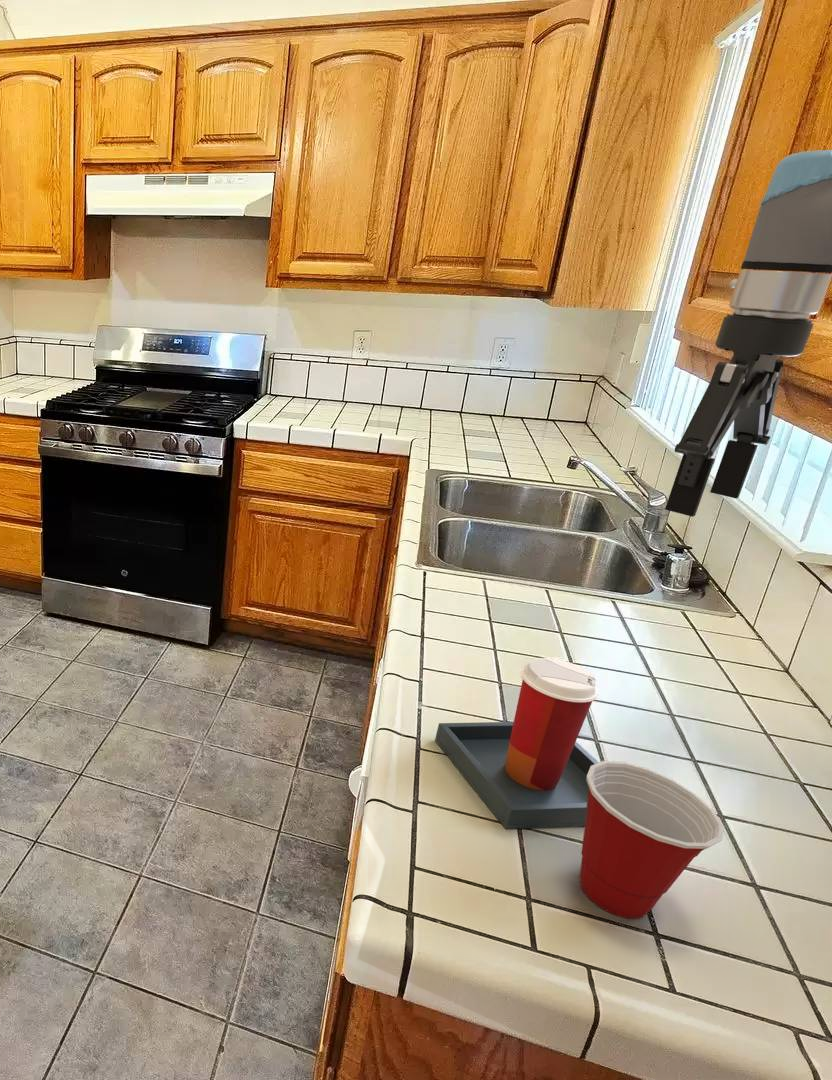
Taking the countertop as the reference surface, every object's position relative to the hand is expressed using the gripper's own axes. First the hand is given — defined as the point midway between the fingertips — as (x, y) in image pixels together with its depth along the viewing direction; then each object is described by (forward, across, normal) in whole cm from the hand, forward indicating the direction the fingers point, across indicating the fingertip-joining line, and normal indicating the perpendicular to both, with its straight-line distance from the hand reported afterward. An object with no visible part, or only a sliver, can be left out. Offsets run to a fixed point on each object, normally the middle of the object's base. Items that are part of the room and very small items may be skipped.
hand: (702, 503), depth 88 cm
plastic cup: (+32, +31, +12) cm, 46 cm away
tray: (+32, +21, -2) cm, 38 cm away
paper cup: (+31, +21, -2) cm, 38 cm away
